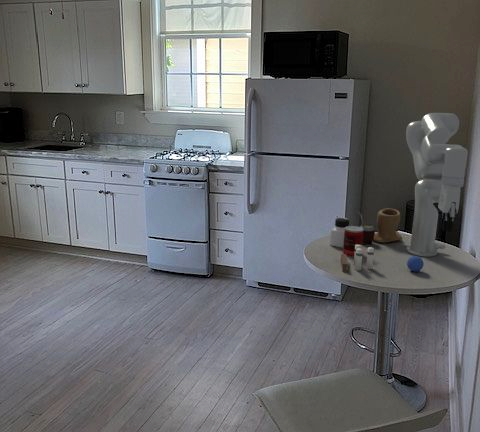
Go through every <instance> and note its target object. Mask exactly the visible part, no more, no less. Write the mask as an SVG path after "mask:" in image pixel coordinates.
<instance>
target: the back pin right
mask: <svg viewBox="0 0 480 432" xmlns="http://www.w3.org/2000/svg"><path fill="white" fill-rule="evenodd" d="M361 247H362V248H363V245H362V246H361V245H355V254H354V256H353V266H354V267H355V260H356V249H361Z"/></svg>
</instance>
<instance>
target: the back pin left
mask: <svg viewBox="0 0 480 432" xmlns="http://www.w3.org/2000/svg"><path fill="white" fill-rule="evenodd" d="M363 252H364V249H363V248H362V249H356V260H355V266H354V270H355V271H362V262H363Z"/></svg>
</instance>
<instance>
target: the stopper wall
mask: <svg viewBox="0 0 480 432" xmlns="http://www.w3.org/2000/svg"><path fill="white" fill-rule="evenodd" d="M340 265H341V271H342V272H345V273H346V272H347V273H348V272H349V260H348V255H346V254H344V253H341V254H340Z"/></svg>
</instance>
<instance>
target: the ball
mask: <svg viewBox="0 0 480 432" xmlns="http://www.w3.org/2000/svg"><path fill="white" fill-rule="evenodd" d="M406 265H407V268H408V269H409V271H411V272H414V273H415V272H420V271H421V270H422V269H423V268H424V260H423V259H422V257H421V256H417V255H411V256H410V257H409V258H408V259H407V261H406Z"/></svg>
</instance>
